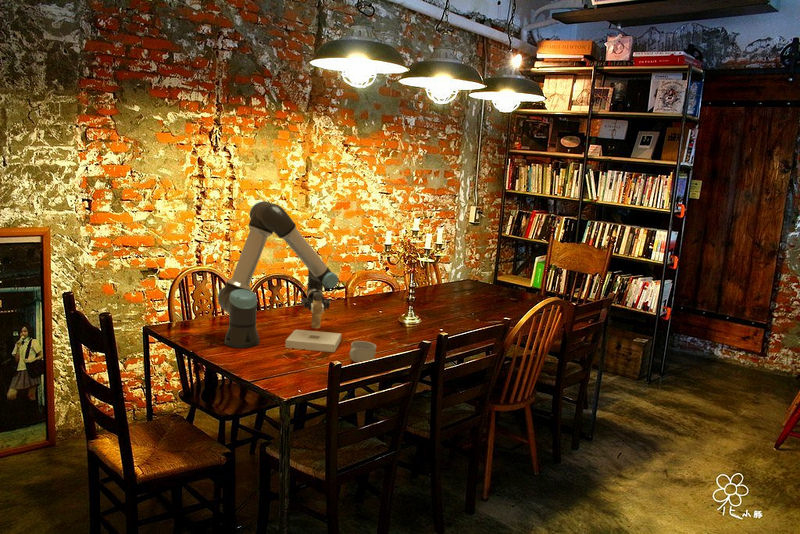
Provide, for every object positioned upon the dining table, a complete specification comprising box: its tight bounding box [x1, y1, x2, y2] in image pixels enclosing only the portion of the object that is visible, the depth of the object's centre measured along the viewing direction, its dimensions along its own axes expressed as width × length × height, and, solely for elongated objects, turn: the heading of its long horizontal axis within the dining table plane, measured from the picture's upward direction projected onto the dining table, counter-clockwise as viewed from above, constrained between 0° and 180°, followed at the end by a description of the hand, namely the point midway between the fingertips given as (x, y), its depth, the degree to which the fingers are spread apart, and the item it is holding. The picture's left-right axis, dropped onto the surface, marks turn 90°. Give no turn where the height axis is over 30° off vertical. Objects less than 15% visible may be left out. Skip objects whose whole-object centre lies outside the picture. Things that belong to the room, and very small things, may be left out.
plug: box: [310, 292, 323, 329], centre depth 284 cm, size 4×4×16 cm
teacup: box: [349, 340, 377, 363], centre depth 265 cm, size 14×11×8 cm
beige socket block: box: [284, 329, 342, 353], centre depth 287 cm, size 22×18×4 cm
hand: (317, 309), depth 279 cm, fingers closed on plug, 4 cm apart
